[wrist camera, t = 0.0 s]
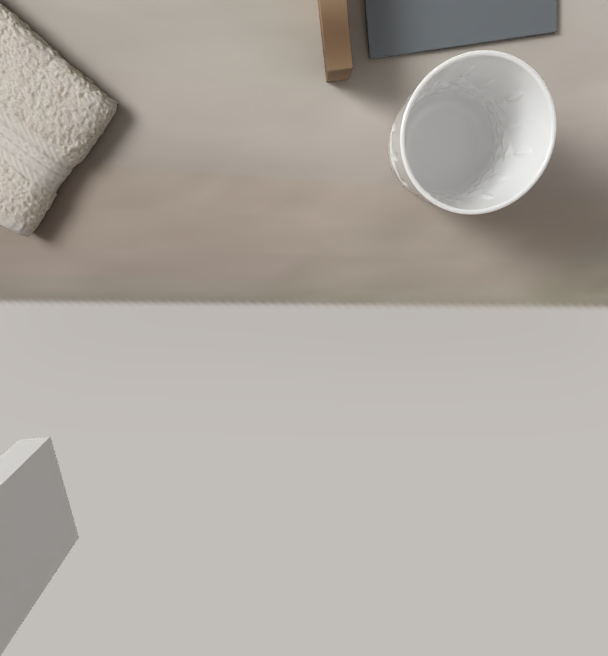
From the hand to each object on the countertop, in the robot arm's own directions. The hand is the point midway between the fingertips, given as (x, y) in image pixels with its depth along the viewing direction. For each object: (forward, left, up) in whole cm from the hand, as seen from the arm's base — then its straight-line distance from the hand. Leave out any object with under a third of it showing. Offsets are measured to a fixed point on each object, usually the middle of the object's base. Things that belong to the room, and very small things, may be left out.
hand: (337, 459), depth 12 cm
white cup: (-7, +9, -28) cm, 30 cm away
